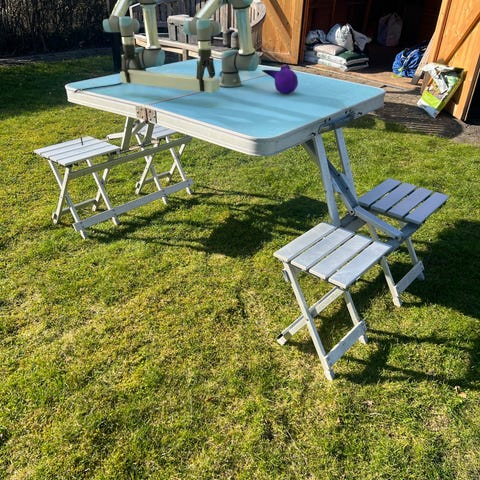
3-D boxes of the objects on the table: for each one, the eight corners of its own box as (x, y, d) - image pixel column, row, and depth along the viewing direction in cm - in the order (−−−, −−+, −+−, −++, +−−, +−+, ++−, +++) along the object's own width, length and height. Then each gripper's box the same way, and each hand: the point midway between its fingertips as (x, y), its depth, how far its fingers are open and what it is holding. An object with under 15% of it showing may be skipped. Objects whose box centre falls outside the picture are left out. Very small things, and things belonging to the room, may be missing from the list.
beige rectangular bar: (121, 82, 294) (120, 71, 291) (131, 80, 301) (129, 69, 297) (211, 93, 262) (211, 81, 259) (220, 90, 269) (219, 78, 265)
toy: (281, 86, 312) (297, 99, 291) (258, 82, 304) (273, 95, 284) (288, 63, 304) (305, 74, 283) (264, 58, 296) (281, 69, 276)
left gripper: (120, 46, 273) (126, 84, 285) (144, 42, 289) (148, 78, 300) (111, 45, 276) (117, 83, 288) (135, 41, 292) (140, 77, 304)
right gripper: (199, 51, 247) (201, 93, 258) (220, 46, 263) (221, 86, 274) (188, 51, 250) (191, 92, 262) (209, 46, 266) (211, 85, 278)
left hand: (133, 81), depth 294 cm, fingers closed on beige rectangular bar, 9 cm apart
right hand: (206, 89), depth 268 cm, fingers closed on beige rectangular bar, 9 cm apart
